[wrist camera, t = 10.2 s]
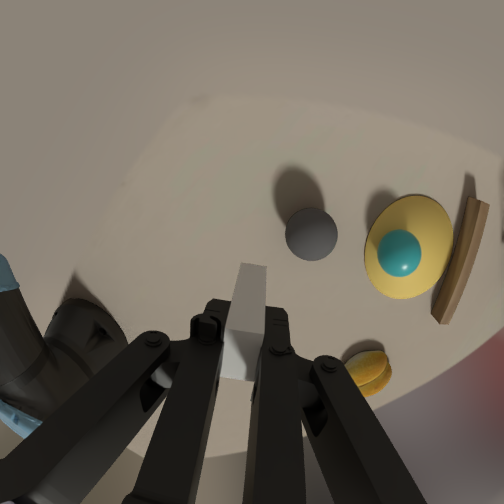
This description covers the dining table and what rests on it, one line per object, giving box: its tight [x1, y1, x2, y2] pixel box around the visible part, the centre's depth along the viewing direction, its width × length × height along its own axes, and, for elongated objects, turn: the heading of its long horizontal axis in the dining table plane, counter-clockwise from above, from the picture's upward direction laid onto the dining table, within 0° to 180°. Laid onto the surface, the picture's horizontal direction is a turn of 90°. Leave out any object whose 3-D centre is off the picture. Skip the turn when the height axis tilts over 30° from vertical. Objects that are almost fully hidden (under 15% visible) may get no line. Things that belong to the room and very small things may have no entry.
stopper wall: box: [431, 197, 490, 325], centre depth 29 cm, size 2×18×3 cm, turn 172°
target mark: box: [365, 196, 453, 299], centre depth 31 cm, size 14×14×1 cm
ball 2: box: [377, 229, 422, 277], centre depth 28 cm, size 6×6×6 cm
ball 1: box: [285, 208, 338, 261], centre depth 28 cm, size 6×6×6 cm
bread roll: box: [344, 351, 392, 397], centre depth 36 cm, size 8×9×4 cm
